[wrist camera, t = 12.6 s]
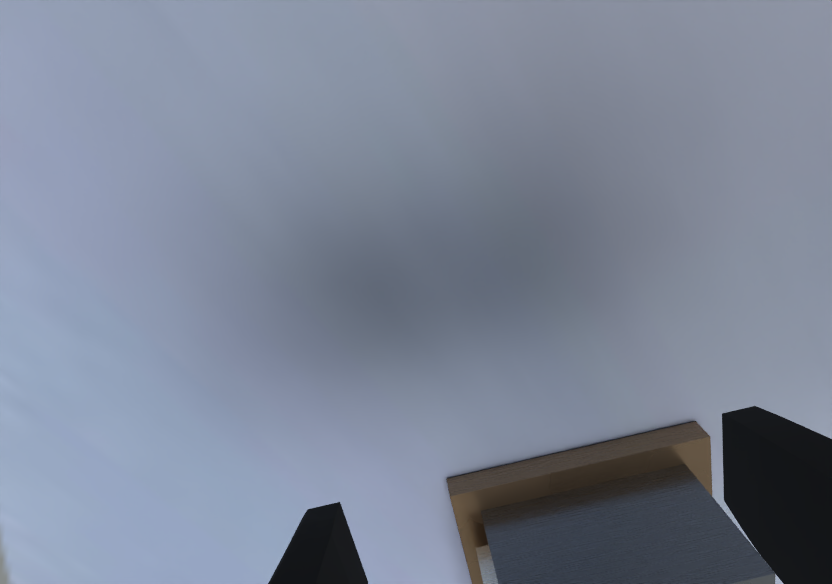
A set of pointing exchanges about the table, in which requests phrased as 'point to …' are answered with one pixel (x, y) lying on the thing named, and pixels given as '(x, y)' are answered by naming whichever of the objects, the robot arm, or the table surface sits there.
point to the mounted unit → (605, 517)
